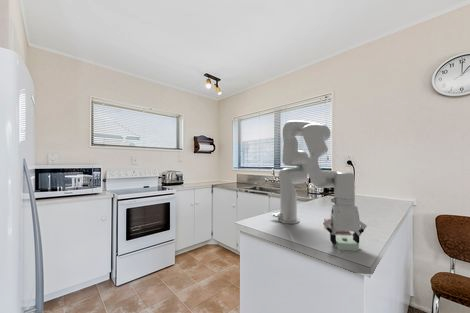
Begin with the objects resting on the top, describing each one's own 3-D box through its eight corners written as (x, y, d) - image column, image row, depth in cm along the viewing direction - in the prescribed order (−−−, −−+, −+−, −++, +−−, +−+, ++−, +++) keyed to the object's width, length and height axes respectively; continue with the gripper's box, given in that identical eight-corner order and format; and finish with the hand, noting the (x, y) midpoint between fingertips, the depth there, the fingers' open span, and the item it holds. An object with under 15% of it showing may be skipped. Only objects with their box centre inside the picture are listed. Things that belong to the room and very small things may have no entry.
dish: (330, 232, 100) (330, 223, 100) (324, 226, 109) (324, 218, 109) (349, 233, 99) (349, 224, 99) (341, 227, 108) (341, 219, 108)
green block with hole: (338, 249, 80) (338, 241, 80) (331, 242, 87) (331, 234, 87) (358, 250, 79) (358, 242, 79) (349, 243, 86) (349, 235, 86)
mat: (338, 251, 79) (338, 250, 79) (330, 243, 87) (330, 241, 87) (359, 252, 79) (359, 251, 79) (350, 243, 87) (350, 242, 87)
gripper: (325, 203, 80) (326, 246, 80) (371, 204, 79) (372, 248, 78) (319, 199, 88) (319, 239, 88) (361, 200, 86) (361, 241, 86)
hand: (344, 243), depth 83 cm, fingers open, 8 cm apart
